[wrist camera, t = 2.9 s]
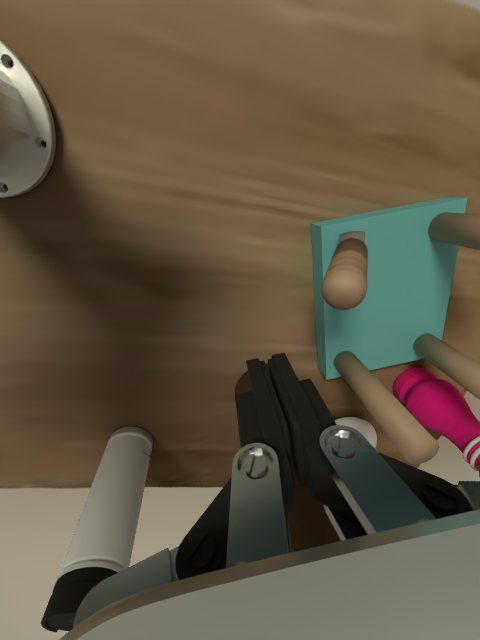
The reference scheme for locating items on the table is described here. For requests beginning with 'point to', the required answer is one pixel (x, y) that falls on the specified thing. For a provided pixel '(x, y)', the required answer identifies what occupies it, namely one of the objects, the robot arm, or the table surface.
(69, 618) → the travel mug
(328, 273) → the hinged leg
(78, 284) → the table surface
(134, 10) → the table surface
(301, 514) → the olive oil
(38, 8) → the table surface
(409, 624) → the robot arm
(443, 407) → the pepper mill
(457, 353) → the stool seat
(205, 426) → the table surface
